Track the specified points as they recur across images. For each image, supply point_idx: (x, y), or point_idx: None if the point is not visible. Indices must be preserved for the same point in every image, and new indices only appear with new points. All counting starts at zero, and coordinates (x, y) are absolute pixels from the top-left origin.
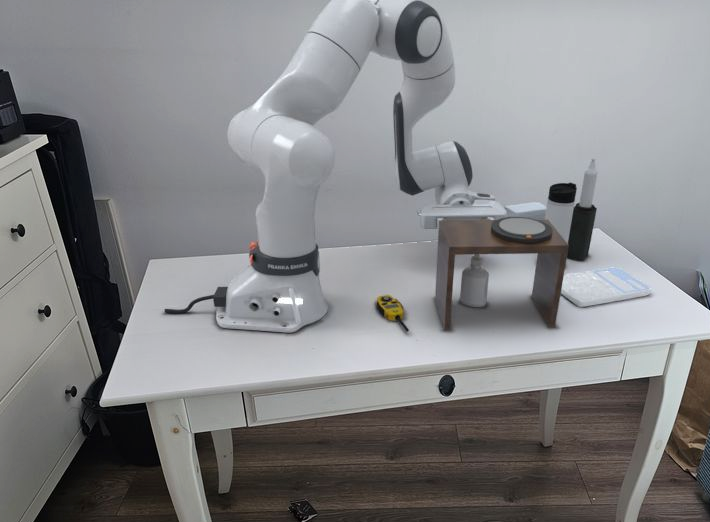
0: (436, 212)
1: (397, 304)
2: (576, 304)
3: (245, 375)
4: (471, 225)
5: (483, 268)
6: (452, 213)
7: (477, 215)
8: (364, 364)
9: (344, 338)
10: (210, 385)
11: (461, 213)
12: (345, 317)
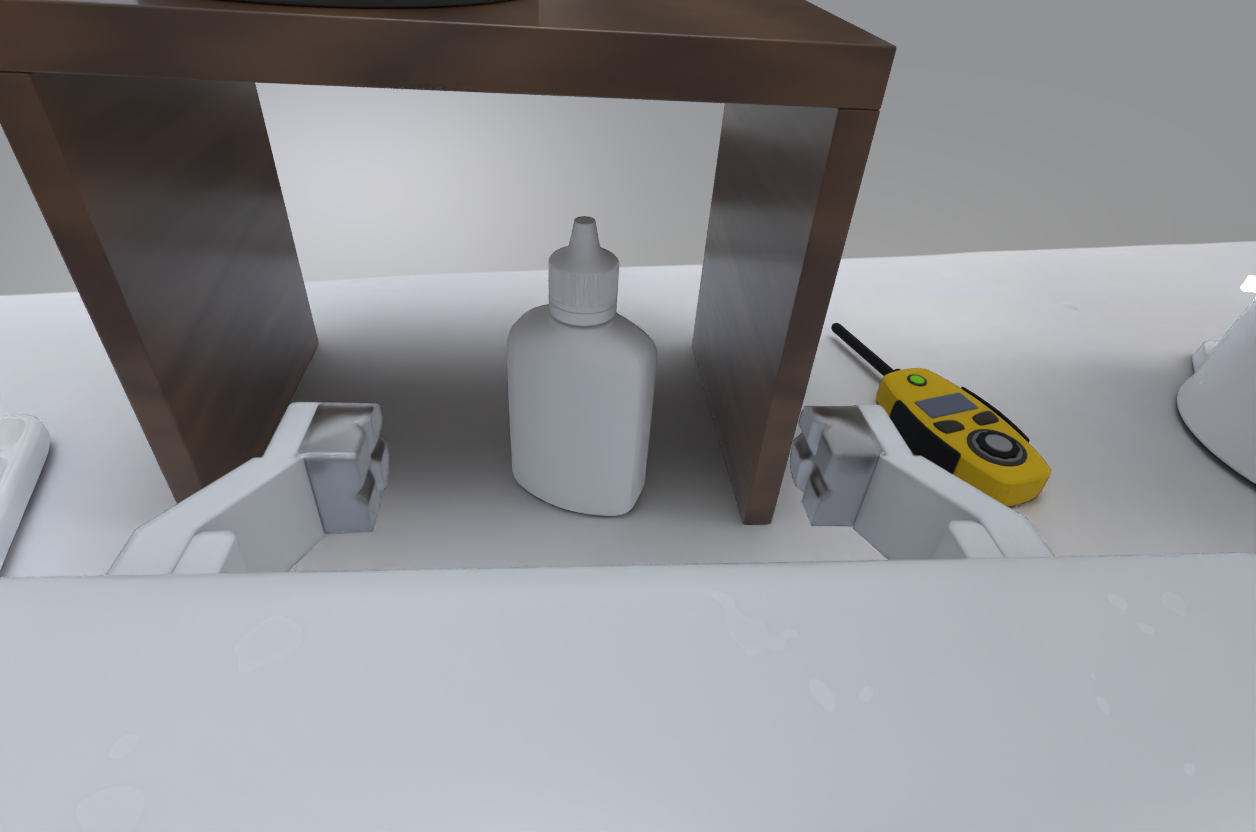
0: (1162, 625)
1: (928, 416)
2: (49, 444)
3: (1148, 258)
4: (651, 14)
5: (535, 325)
6: (855, 587)
7: (393, 571)
8: (904, 265)
9: (1018, 333)
10: (1187, 245)
11: (690, 582)
12: (1097, 415)
